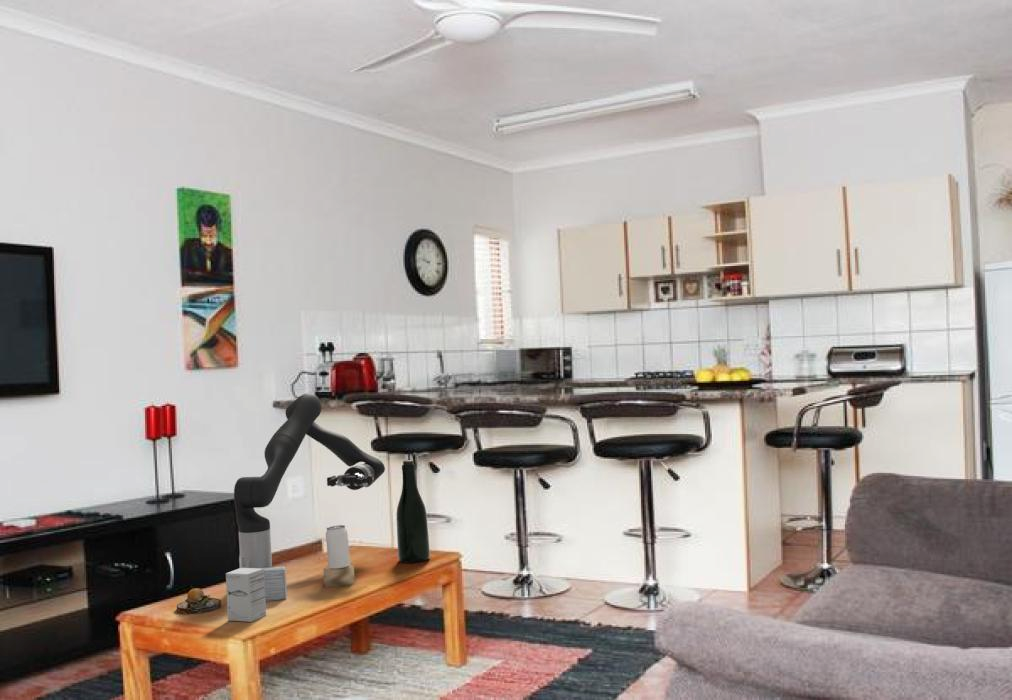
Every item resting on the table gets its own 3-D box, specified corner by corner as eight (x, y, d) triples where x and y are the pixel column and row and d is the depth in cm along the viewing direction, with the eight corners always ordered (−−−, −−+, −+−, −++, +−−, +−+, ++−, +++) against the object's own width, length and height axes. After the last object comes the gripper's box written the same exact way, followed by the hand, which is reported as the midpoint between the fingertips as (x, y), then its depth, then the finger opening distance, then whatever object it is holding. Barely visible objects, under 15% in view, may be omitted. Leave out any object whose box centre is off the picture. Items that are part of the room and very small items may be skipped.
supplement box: (226, 621, 251) (224, 573, 251) (244, 613, 258) (241, 566, 258) (250, 622, 248) (248, 573, 248) (267, 615, 255) (264, 567, 255)
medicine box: (287, 596, 276) (285, 565, 276) (286, 599, 271) (284, 569, 271) (258, 598, 274) (257, 568, 275) (257, 602, 270) (256, 571, 270)
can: (352, 563, 291) (348, 524, 291) (348, 568, 285) (344, 528, 285) (331, 565, 292) (327, 526, 292) (326, 570, 285) (322, 530, 285)
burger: (229, 606, 267) (228, 580, 268) (193, 617, 258) (191, 589, 258) (204, 602, 275) (202, 576, 275) (167, 612, 265) (166, 585, 266)
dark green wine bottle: (406, 556, 324) (399, 458, 324) (434, 556, 321) (428, 458, 321) (393, 563, 314) (386, 462, 314) (422, 563, 311) (416, 461, 311)
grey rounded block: (326, 589, 282) (326, 572, 282) (322, 583, 291) (321, 566, 291) (357, 585, 285) (356, 568, 285) (351, 579, 294) (350, 563, 294)
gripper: (336, 466, 316) (322, 471, 300) (378, 464, 315) (366, 469, 299) (337, 489, 316) (323, 495, 300) (379, 487, 315) (367, 493, 299)
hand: (344, 482), depth 299 cm, fingers open, 8 cm apart
